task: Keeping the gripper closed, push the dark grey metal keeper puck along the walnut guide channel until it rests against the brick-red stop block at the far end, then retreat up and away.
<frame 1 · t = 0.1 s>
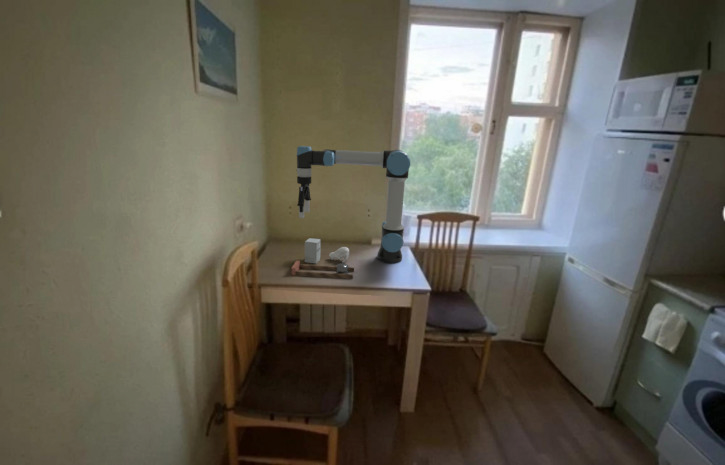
hand: (304, 214, 187), 28 cm above the table, fingers open, 13 cm apart
white lumpy piece: (338, 260, 199), on the table
supplement box: (312, 261, 197), on the table
stop block: (295, 271, 182), on the table
keeper: (342, 274, 181), on the table
guide rails: (325, 272, 181), on the table
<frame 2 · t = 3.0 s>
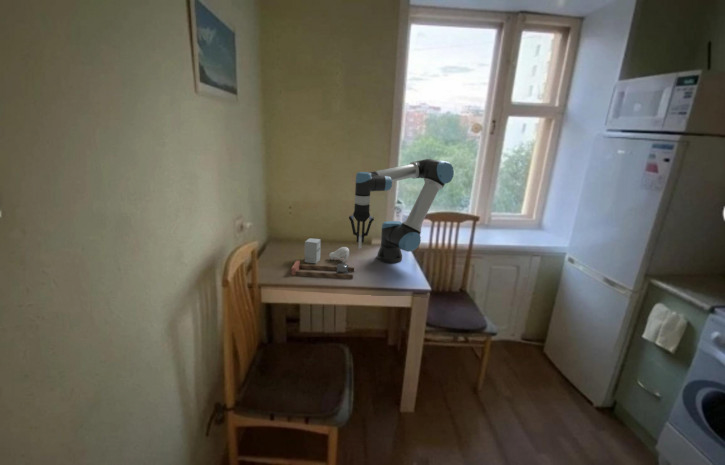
hand: (359, 247, 176), 15 cm above the table, fingers closed
nothing on the table moved.
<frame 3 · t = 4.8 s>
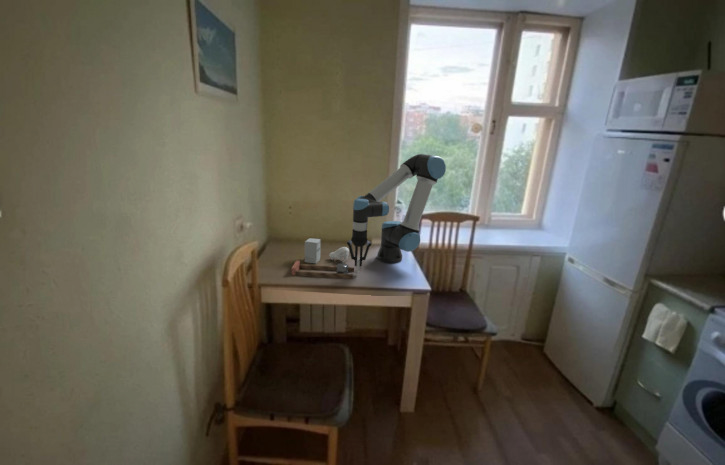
hand: (357, 271, 180), 2 cm above the table, fingers closed
nothing on the table moved.
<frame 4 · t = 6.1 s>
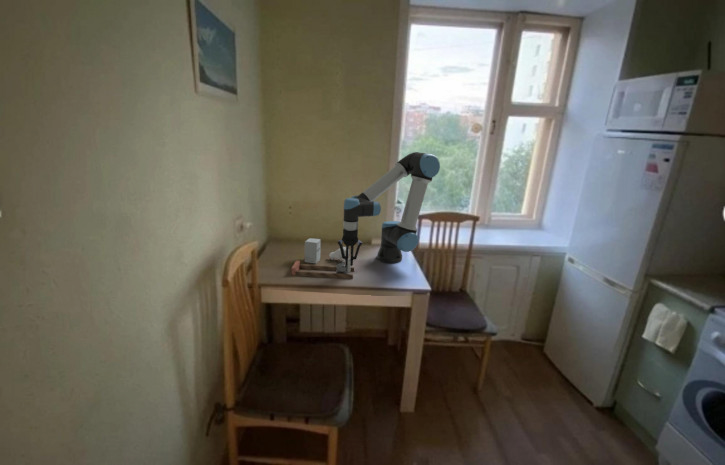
hand: (348, 270, 180), 2 cm above the table, fingers closed
keeper: (341, 274, 181), on the table, touching gripper
everything else where it was.
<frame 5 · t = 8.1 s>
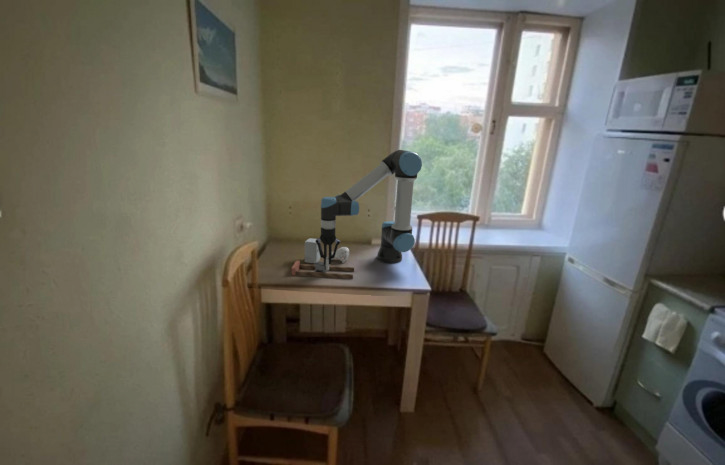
hand: (327, 269, 181), 2 cm above the table, fingers closed
keeper: (320, 272, 181), on the table, touching gripper
everything else where it was.
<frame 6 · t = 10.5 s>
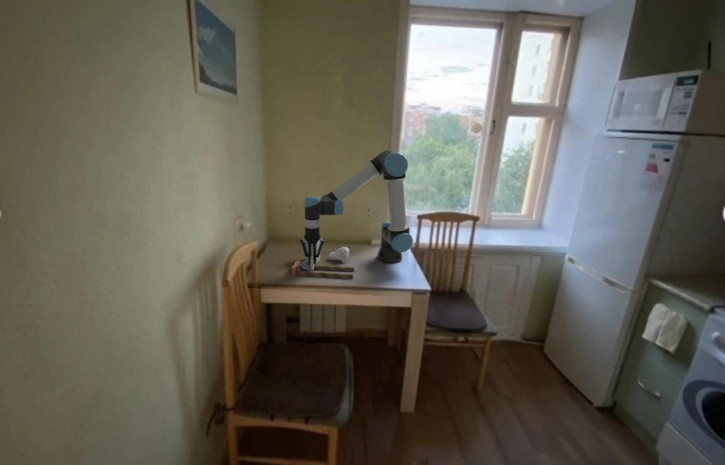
hand: (312, 268, 181), 2 cm above the table, fingers closed
keeper: (305, 271, 182), on the table, touching gripper
everything else where it was.
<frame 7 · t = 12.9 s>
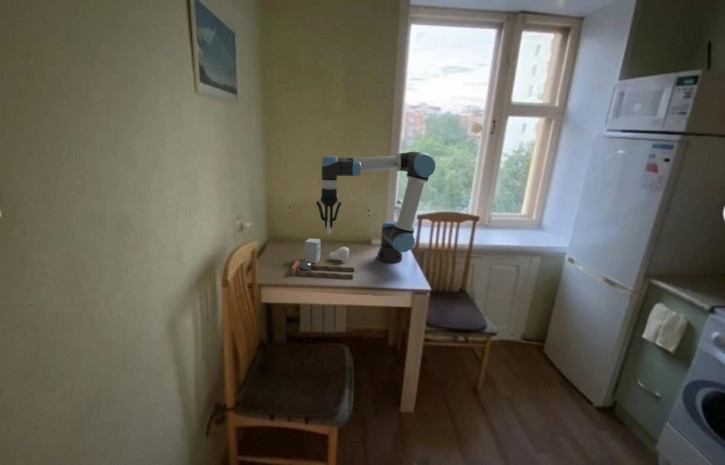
hand: (328, 233, 175), 22 cm above the table, fingers closed
keeper: (305, 271, 182), on the table
everything else where it was.
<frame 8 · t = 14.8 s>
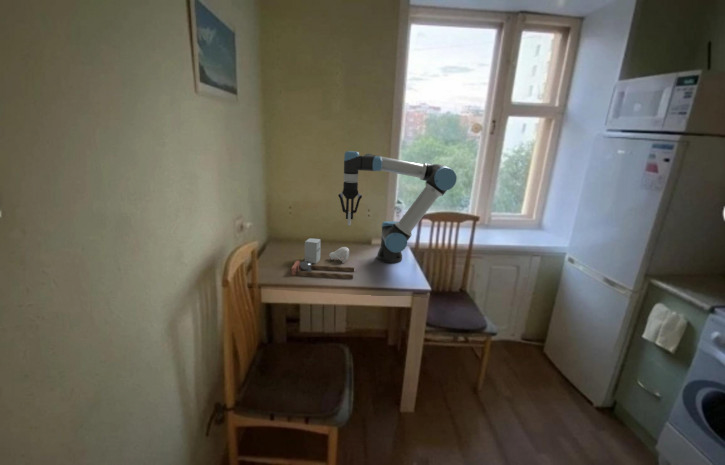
hand: (349, 224, 184), 24 cm above the table, fingers closed
nothing on the table moved.
at the end: keeper 0.7 cm from the target spot, on the table; keeper tilted 1° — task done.
